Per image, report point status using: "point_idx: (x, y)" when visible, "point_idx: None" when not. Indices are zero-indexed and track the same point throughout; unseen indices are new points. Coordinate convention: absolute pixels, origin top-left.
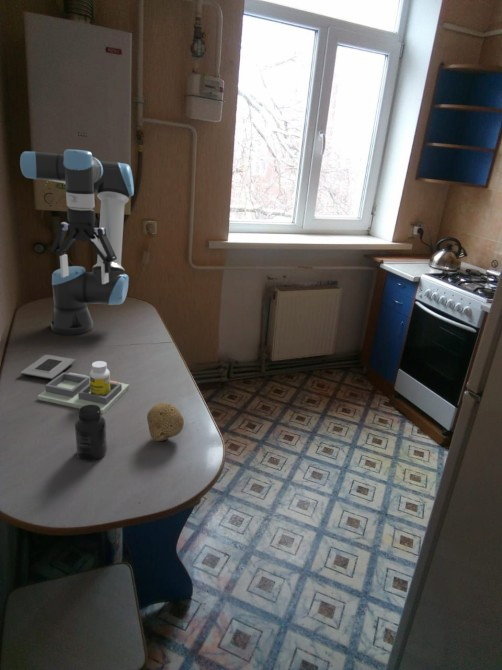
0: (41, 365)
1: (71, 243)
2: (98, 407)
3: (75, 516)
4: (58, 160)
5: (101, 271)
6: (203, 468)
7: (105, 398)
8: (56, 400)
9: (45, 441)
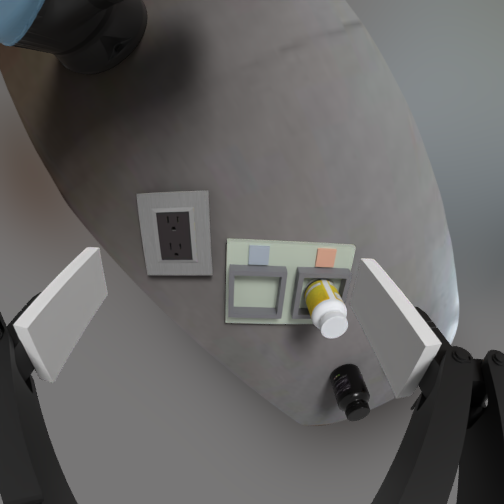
0: (163, 243)
1: (35, 455)
2: (367, 409)
3: None
4: None
5: (374, 352)
6: None
7: None
8: (259, 323)
9: (289, 376)
